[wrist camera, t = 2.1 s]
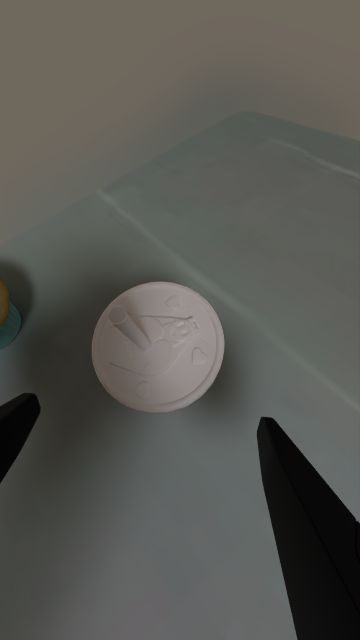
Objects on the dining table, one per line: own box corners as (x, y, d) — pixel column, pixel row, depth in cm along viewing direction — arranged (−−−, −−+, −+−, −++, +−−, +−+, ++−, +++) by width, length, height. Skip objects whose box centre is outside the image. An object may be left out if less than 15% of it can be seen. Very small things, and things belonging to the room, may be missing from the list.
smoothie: (126, 347, 20) (5, 261, 7) (190, 319, 21) (189, 190, 8) (152, 418, 19) (56, 479, 5) (222, 384, 19) (295, 362, 6)
